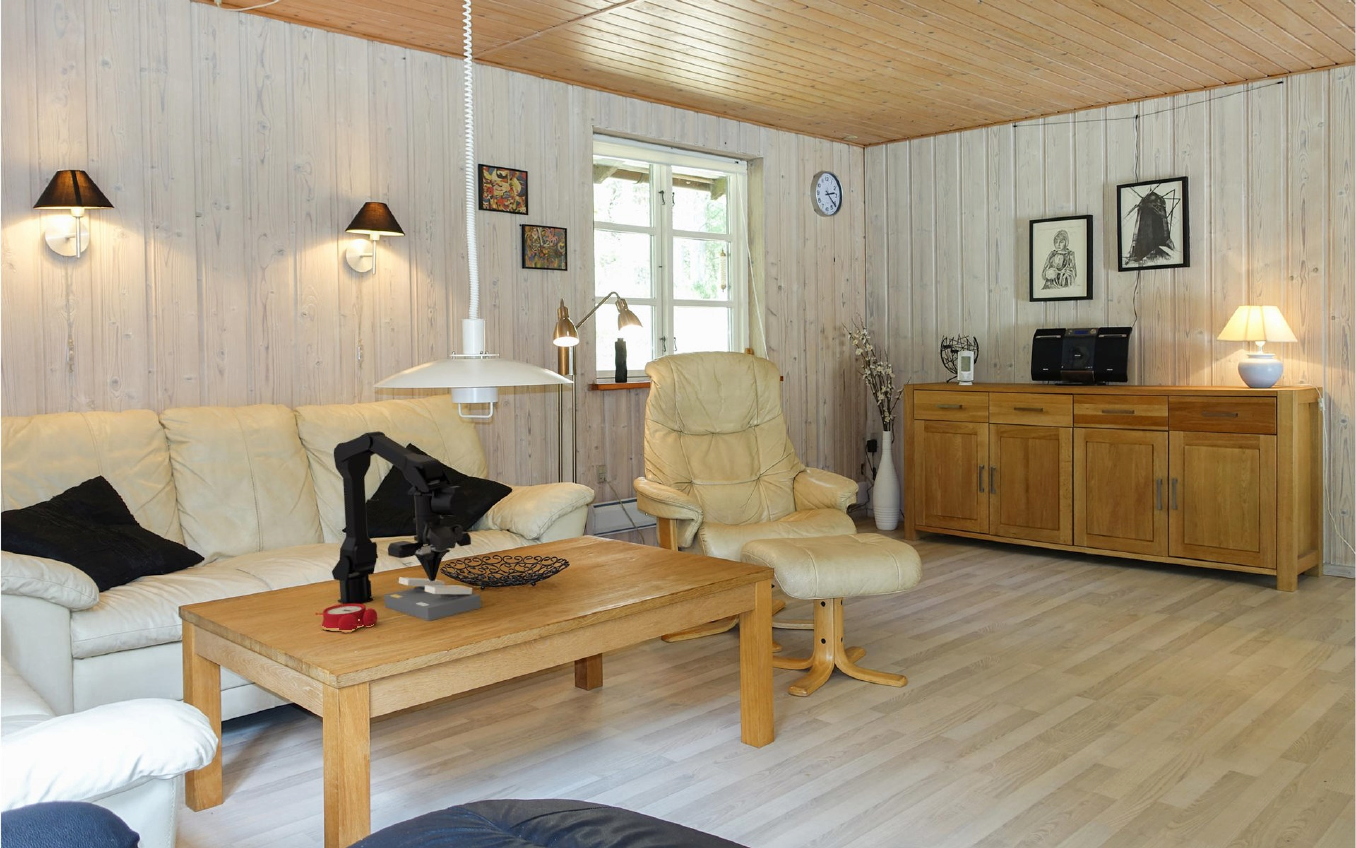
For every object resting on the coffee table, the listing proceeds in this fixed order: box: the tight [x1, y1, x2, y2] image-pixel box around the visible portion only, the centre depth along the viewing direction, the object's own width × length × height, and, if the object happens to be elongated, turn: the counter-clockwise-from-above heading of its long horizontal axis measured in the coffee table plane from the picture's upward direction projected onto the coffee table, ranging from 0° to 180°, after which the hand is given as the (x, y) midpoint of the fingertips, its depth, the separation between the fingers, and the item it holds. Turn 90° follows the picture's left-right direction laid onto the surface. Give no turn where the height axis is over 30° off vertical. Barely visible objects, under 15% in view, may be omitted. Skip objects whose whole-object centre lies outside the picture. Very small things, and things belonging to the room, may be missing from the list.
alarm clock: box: [315, 603, 378, 630], centre depth 228 cm, size 10×6×15 cm
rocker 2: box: [425, 584, 473, 594], centre depth 238 cm, size 10×4×2 cm, turn 134°
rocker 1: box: [398, 576, 446, 587], centre depth 247 cm, size 10×4×2 cm, turn 134°
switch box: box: [383, 586, 482, 622], centre depth 242 cm, size 14×20×4 cm
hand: (432, 580), depth 235 cm, fingers closed
